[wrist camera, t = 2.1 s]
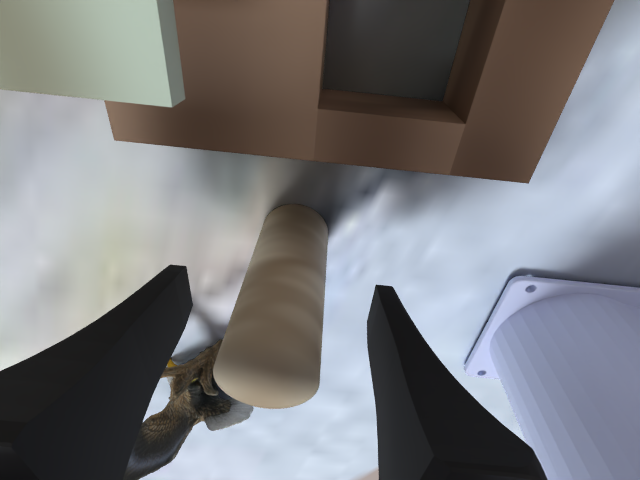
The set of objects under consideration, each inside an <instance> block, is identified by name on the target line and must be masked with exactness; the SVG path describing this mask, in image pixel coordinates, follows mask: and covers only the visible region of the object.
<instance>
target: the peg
mask: <svg viewBox="0 0 640 480" xmlns="http://www.w3.org/2000/svg"><path fill="white" fill-rule="evenodd" d="M327 245H328V228H327V225H326V223H325V221H324V219H323V218H322V217H321V215H320V214H318V213H317V212H316V211H315V210H313V209H311V208H309V207H307V206H304V205H299V204H287V205H283V206H280V207H278V208H276V209H274V210H273V211H272V212H270V213H269V215H268V216H267V217H266V219H265V221H264V224H263V227H262V229H261V232H260V235H259V238H258V241H257V244H256V247H255V249H254V252H253V255H252V258H251V261H250V264H249V267H248V270H247V272H246V275H245V278H244V281H243V284H242V287H241V290H240V292H239V295H238V298H237V301H236V304H235V307H234V310H233V312H232V315H231V318H230V321H229V324H228V327H227V330H226V332H225V335H224V338H223V341H222V344H221V347H220V350H219V353H218V355H217V358H216V361H215V364H214V368H213V375H214V379H215V381H216V383H217V384H218V386H219V387H220V388H221V389H222V390H223V391H224V392H225V393H226V394H228V395H229V396H230V397H232V398H234V399H236V400H238V401H240V402H242V403H245V404H248V405H251V406H255V407H260V408H269V409H281V408H289V407H294V406H297V405H300V404H302V403H304V402H306V401H308V400H309V399H311V398H312V397H313V396H314V395H315V393H316V392H317V390H318V388H319V383H320V365H321V348H322V331H323V314H324V297H325V280H326V262H327Z"/></svg>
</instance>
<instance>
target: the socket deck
mask: <svg viewBox="0 0 640 480" xmlns="http://www.w3.org/2000/svg"><path fill="white" fill-rule="evenodd" d="M613 2H614V0H470V4H469V7H468V11H467V14H466V18H465V22H464V25H463V29H462V33H461V36H460V40H459V43H458V47H457V51H456V54H455V58H454V62H453V65H452V69H451V73H450V76H449V80H448V83H447V87H446V91H445V94H444V98H443V101H435V100H426V99H417V98H407V97H398V96H388V95H379V94H369V93H360V92H350V91H341V90H331V89H322V86H323V74H324V63H325V51H326V40H327V28H328V16H329V5H330V0H0V89H1V90H11V91H20V92H30V93H40V94H49V95H59V96H68V97H78V98H87V99H97V100H104V101H105V105H106V109H107V113H108V117H109V121H110V125H111V129H112V133H113V137H114V140H116V141H126V142H135V143H145V144H155V145H164V146H174V147H184V148H193V149H203V150H212V151H222V152H232V153H241V154H251V155H261V156H270V157H280V158H289V159H299V160H309V161H318V162H328V163H337V164H347V165H357V166H366V167H376V168H386V169H395V170H405V171H414V172H424V173H434V174H443V175H453V176H463V177H472V178H482V179H491V180H501V181H511V182H520V183H529V181H530V179H531V177H532V175H533V173H534V171H535V168H536V166H537V164H538V162H539V160H540V158H541V156H542V153H543V151H544V149H545V147H546V145H547V143H548V141H549V139H550V136H551V134H552V132H553V130H554V128H555V126H556V124H557V122H558V119H559V117H560V115H561V113H562V111H563V109H564V107H565V104H566V102H567V100H568V98H569V96H570V94H571V92H572V90H573V87H574V85H575V83H576V81H577V79H578V77H579V75H580V72H581V70H582V68H583V66H584V64H585V62H586V60H587V58H588V55H589V53H590V51H591V49H592V47H593V45H594V43H595V41H596V38H597V36H598V34H599V32H600V30H601V28H602V26H603V23H604V21H605V19H606V17H607V15H608V13H609V11H610V9H611V6H612V4H613Z"/></svg>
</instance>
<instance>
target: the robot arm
mask: <svg viewBox="0 0 640 480" xmlns="http://www.w3.org/2000/svg"><path fill="white" fill-rule="evenodd" d="M530 285H531V286H530ZM528 286H530V287H528ZM192 306H193V303H192V297H191V291H190V285H189V279H188V274H187V268H186V266H179V265H169V266H168V267H167V268H165V269H164V270H163V271H161V272H160V273H159V274H158V275H156V276H155V277H154V278H153V279H151V280H150V281H149V282H148V283H146V284H145V285H144V286H143V287H141V288H140V289H139V290H137V291H136V292H135V293H134V294H132V295H131V296H130V297H128V298H127V299H126V300H124V301H123V302H122V303H120V304H119V305H117V306H116V307H115V308H113V309H112V310H110V311H109V312H108V313H106V314H105V315H103V316H102V317H100V318H99V319H97V320H96V321H94V322H93V323H91V324H90V325H88V326H86V327H85V328H83V329H81V330H80V331H78V332H76V333H75V334H73V335H71V336H70V337H68V338H66V339H64V340H63V341H61V342H59V343H57V344H55V345H53V346H51V347H49V348H47V349H45V350H44V351H42V352H40V353H38V354H36V355H34V356H32V357H30V358H28V359H26V360H24V361H21V362H19V363H17V364H15V365H13V366H11V367H8V368H6V369H4V370H2V371H0V480H123V477H124V474H125V471H126V468H127V465H128V462H129V459H130V456H131V453H132V450H133V447H134V444H135V441H136V438H137V436H138V433H139V430H140V427H141V424H142V422H143V419H144V416H145V414H146V411H147V408H148V406H149V403H150V400H151V398H152V395H153V393H154V391H155V388H156V386H157V384H158V382H159V380H160V378H161V376H162V374H163V372H164V370H165V368H166V366H167V364H168V362H169V360H170V358H171V356H172V354H173V352H174V350H175V348H176V346H177V344H178V342H179V340H180V338H181V336H182V333H183V331H184V329H185V327H186V324H187V321H188V318H189V315H190V312H191V309H192ZM367 344H368V354H369V361H370V368H371V375H372V382H373V389H374V396H375V404H376V414H377V436H378V465H379V480H640V288H637V287H627V286H617V285H608V284H598V283H588V282H578V281H568V280H559V279H549V278H539V277H529V276H517V277H514V278H512V279H511V280H510V281H509V282H508V284H507V286H506V288H505V290H504V292H503V294H502V296H501V298H500V299H499V301H498V303H497V305H496V307H495V309H494V311H493V313H492V315H491V316H490V318H489V320H488V322H487V324H486V326H485V328H484V330H483V332H482V334H481V335H480V337H479V339H478V341H477V343H476V345H475V347H474V349H473V351H472V353H471V354H470V356H469V358H468V360H467V362H466V364H465V366H464V371H465V373H466V375H468V376H471V377H481V378H491V379H500V381H501V383H502V385H503V388H504V390H505V393H506V395H507V397H508V400H509V402H510V405H511V407H512V409H513V412H514V414H515V417H516V419H517V421H518V424H519V426H520V429H521V431H522V433H523V436H524V438H525V441H526V443H527V444H526V443H525V442H524V441H523V440H521V439H520V438H519V437H518V436H516V435H515V434H514V433H513V432H511V431H510V430H509V429H508V428H506V427H505V426H504V425H503V424H502V423H500V422H499V421H498V420H497V419H496V418H495V417H494V416H493V415H492V414H490V413H489V412H488V411H487V410H486V409H485V408H484V407H483V406H482V405H481V404H480V403H479V402H478V401H477V400H476V399H475V398H474V397H473V396H472V395H471V394H470V393H469V392H468V391H467V390H466V389H465V388H464V387H463V386H462V385H461V384H460V383H459V382H458V381H457V380H456V379H455V378H454V376H453V375H452V374H451V373H450V372H449V371H448V369H447V368H446V367H445V366H444V365H443V364H442V362H441V361H440V360H439V359H438V357H437V356H436V355H435V353H434V352H433V351H432V349H431V348H430V347H429V345H428V344H427V342H426V341H425V340H424V338H423V337H422V335H421V334H420V332H419V331H418V329H417V328H416V326H415V324H414V323H413V321H412V320H411V318H410V316H409V315H408V313H407V311H406V310H405V308H404V306H403V304H402V303H401V301H400V299H399V297H398V295H397V294H396V292H395V290H394V288H393V287H392V286H384V285H376V287H375V291H374V295H373V299H372V303H371V307H370V312H369V316H368V320H367Z"/></svg>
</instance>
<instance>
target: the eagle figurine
mask: <svg viewBox="0 0 640 480" xmlns="http://www.w3.org/2000/svg"><path fill="white" fill-rule="evenodd" d="M222 341H223V339H221V340H219V341H218V342H217V343H216V344H215V345H213V346H212V347H208V348H206V349H205V351H204V352H200V354H199V355H198V356H197V357H196V358H195V359H193V360H190V361H188V362H187V363H185V364H180V365H178V366H177V365H175V364H174V363H173V362H172V360H171V358H170V360H169V362H168V364H167V368H165V370H164V372H163V374H162V376H161V378H163V377H167V379H168V382H169V385H170V387H171V394H170V397H169V399H170V401H169V403H168V404H167V405H166V407H165V408H164V409H163V410H162V411H161V412H159V413H157V414H154V415H151V416H150V417H149V418H147V419H146V420H145V421H144V422H142V424H141V427H140V430H139V433H138V436H137V438H136V441H135V444H134V447H133V450H132V453H131V456H130V459H129V462H128V465H127V468H126V471H125V474H124V477H123V480H139V479H140V478H142V477H144V476H146V475H148V474H150V473H153V472H155V471H157V470H158V469H160V468H161V467H163V466H165V465H167V464H168V463H170V462H171V461H172V460H173V459H174V458H175V457H176V455H177V454H178V451H179V449H180V448H181V446H182V444H183V443H184V441H185V439H186V437H187V436H188V434H189V433H190V431H191V430H192V427H193V426H194V425H196V424H198V423H199V422H201V421H205V423H206V425H207V427H208V429H209V430H211V431H215V430H219V429H224V428H227V427H230V426H233V425H235V424H238V423H241V422H242V421H244V420H247V419H248V418H249V417H250V414H251V413H252V411H253V406H251V405H248V404H245V403H242V402H240V401H238V400H236V399H234V398H232V399H228V400H224V399H222V398H221V397H220V396H219V395H218V393H219V392H218V391H217V388H216V381H215V379H214V375H213V368H214V364H215V361H216V358H217V355H218V353H219V350H220V347H221V344H222Z"/></svg>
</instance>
